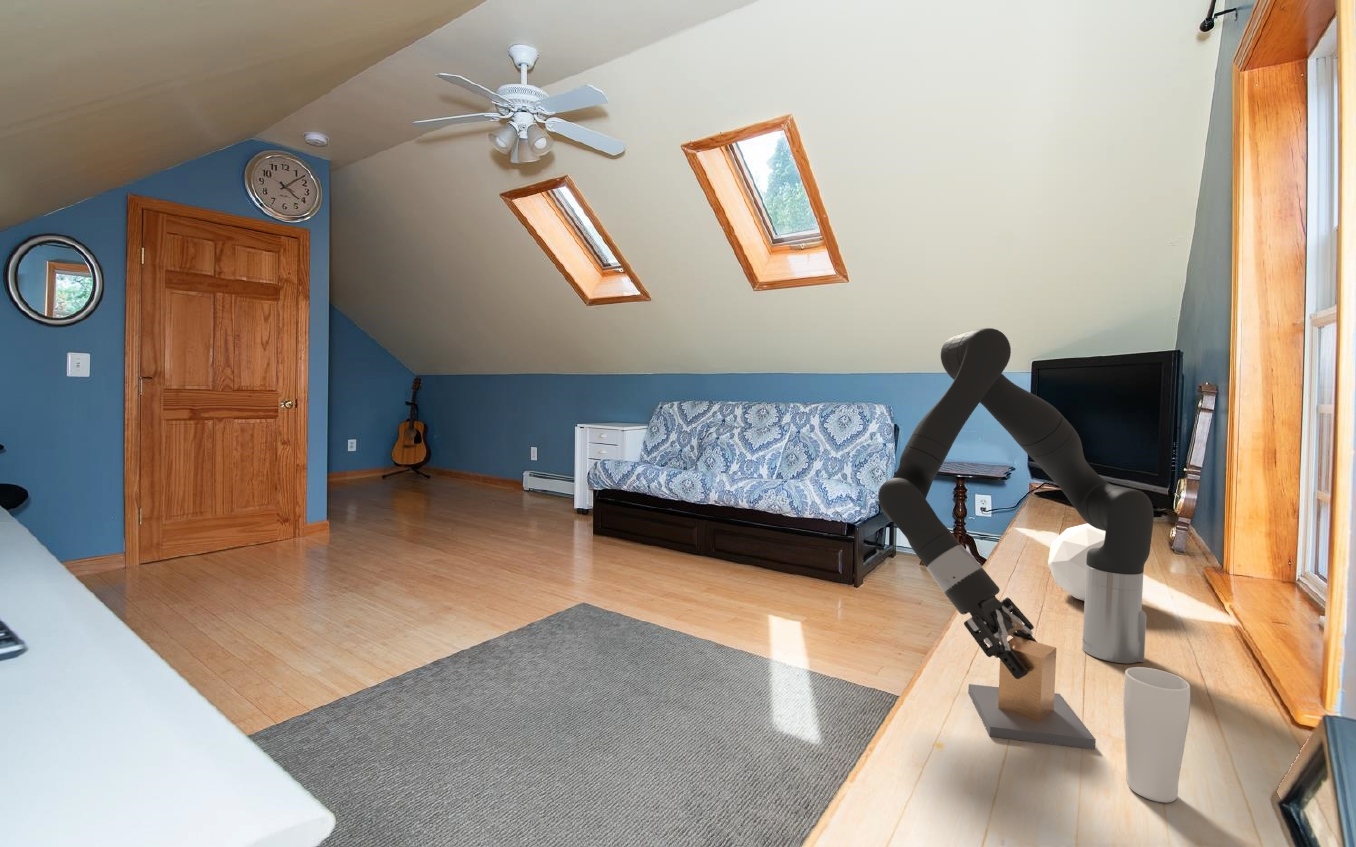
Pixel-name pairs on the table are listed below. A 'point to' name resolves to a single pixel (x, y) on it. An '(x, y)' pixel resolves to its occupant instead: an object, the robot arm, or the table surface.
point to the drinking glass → (1155, 731)
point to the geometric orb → (1073, 557)
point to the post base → (1052, 730)
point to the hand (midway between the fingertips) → (1033, 668)
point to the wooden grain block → (1029, 681)
